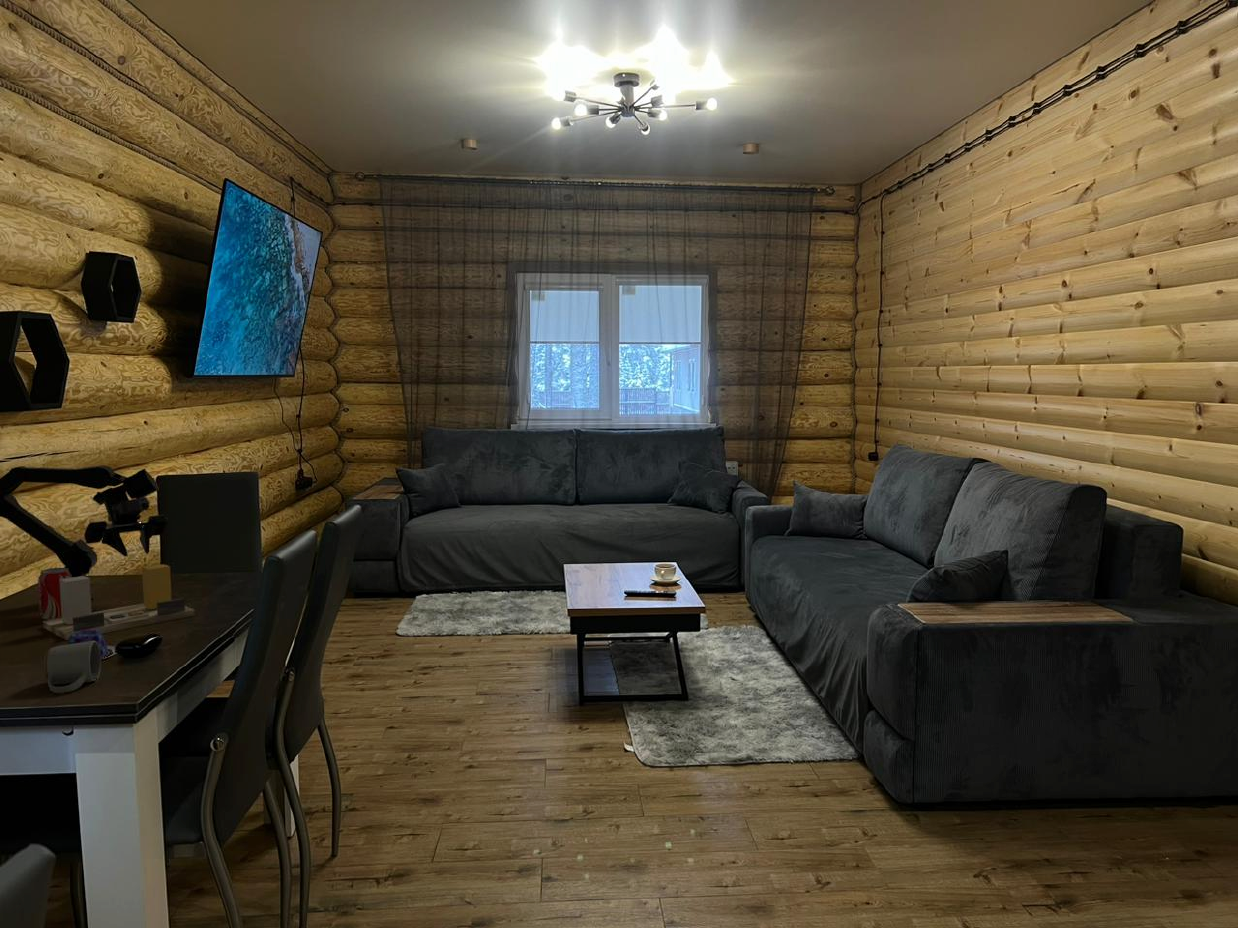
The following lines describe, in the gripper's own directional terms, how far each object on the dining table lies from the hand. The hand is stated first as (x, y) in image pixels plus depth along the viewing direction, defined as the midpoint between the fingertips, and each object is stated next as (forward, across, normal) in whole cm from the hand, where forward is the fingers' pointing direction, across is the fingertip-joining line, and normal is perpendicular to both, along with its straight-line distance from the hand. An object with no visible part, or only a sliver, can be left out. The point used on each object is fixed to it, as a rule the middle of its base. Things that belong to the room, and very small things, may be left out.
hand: (137, 554), depth 223 cm
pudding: (+36, -24, -16) cm, 46 cm away
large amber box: (+17, 0, 0) cm, 17 cm away
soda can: (+8, -18, +12) cm, 23 cm away
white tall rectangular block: (+17, -18, 0) cm, 24 cm away
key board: (+18, -9, +1) cm, 21 cm away
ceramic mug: (+48, -32, -28) cm, 64 cm away
